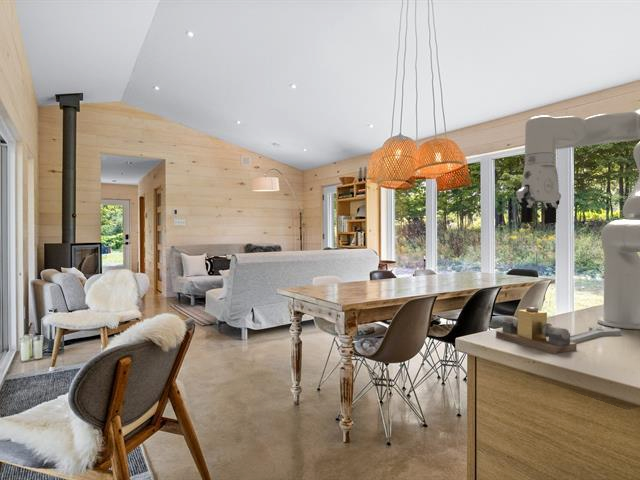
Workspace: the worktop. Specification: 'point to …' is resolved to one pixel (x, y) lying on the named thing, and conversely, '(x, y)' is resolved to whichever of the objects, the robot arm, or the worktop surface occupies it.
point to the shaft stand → (553, 343)
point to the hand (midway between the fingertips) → (538, 222)
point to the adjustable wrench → (594, 334)
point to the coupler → (531, 323)
